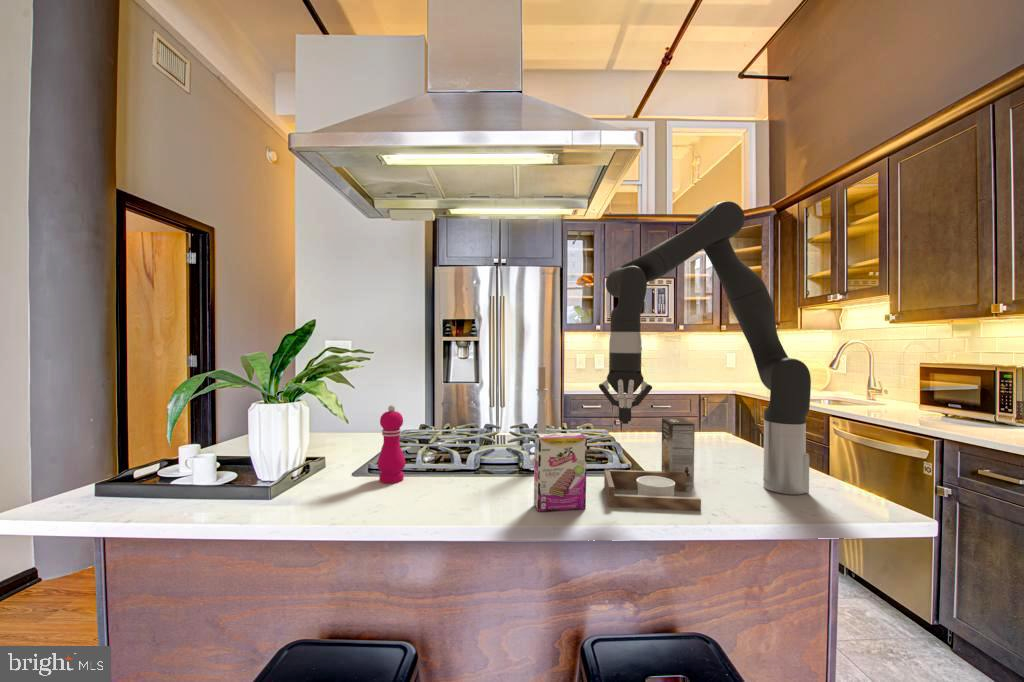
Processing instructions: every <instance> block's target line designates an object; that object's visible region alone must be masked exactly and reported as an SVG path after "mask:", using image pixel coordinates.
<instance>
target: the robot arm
mask: <svg viewBox="0 0 1024 682" xmlns="http://www.w3.org/2000/svg"><path fill="white" fill-rule="evenodd" d="M745 220H746V217H745V211H744V210H743V208H742V207H741V206H740V205H739V204H737V203H736V202H733V201H731V200H730V201H729V200H725V201H720V202H718V203H715V204H713V205H712V206H711V207H709V208H707V209H706V210H704V211H703V212H701V213H700V214H699V215H698V216H696V218H695V220H694V224H692V225H691V226H690V227H688V228H686V229H685V230H683V231H681V232H679V233H677V234H675V235H674V236H672V237H669V238H668V239H666V240H665V241H663V242H661V243H659V244H657V245H656V246H654V247H653V248H651V249H650V250H648V251H646V252H645V253H644V254H641V256H638V258H635V259H633V260H632V261H629V262H627V263H625V264H623V265H621V266H619V267H617V268H615V269H614V270H612V271H611V272H610V273H609V274H608V276H607V278H606V280H605V289H606V291H607V292H608V293H609V295H611V296H612V297H614V298H617V299H618V302H617V305H616V307H614V308H613V309H612V310H611V312H610V329H609V330H610V331H609V332H610V335H609V340H608V341H609V343H608V346H609V347H608V349H609V350H608V373H607V376H606V380H604V381H603V382H601V383H599V384H598V387H599V389H600V391H601V392H602V394H603V395H604V396H605V397H606V398H607V399H608V401H609V403H610V404H611V405H612V406H615V407H617V408H618V415H617V417H618V420H619V422H620V423H621V425H623V424H624V425H625V424H626V425H628V424H629V422H632V421H631V420H632V409H633V408H634V407H638V406H640V404H641V403H642V402H643V400H644V399H645V398H646V397H647V396H648V394H649V393H650V392H651V391H652V390H653V385H651V384H649V383H647V382H646V381H645V380H644V376H643V374H642V352H643V346H642V333H641V326H642V325H641V320H642V319H641V314H642V310H643V307H644V302H645V298H646V294H647V290H648V289H647V288H648V287H647V286H648V283H650V282H652V281H656V280H658V279H660V278H663V276H665V275H667V274H668V273H669V272H671V271H673V270H675V268H677V267H679V266H680V265H682V264H683V263H684V262H686V261H687V260H689V259H690V258H691V257H693V256H694V255H695V254H697V253H698V252H700V251H701V250H702V251H704V252H705V255H706V256H707V257H708V260H709V262H710V263H711V265H712V266H713V269H714V271H715V274H716V275H717V277H718V280H719V281H720V284H721V286H722V288H723V291H724V293H725V295H726V297H727V300H728V303H729V305H730V308H731V309H732V312H733V314H734V316H735V318H736V320H737V322H738V324H739V327H740V329H741V330H742V333H743V335H744V337H745V339H746V341H747V343H748V345H749V347H750V350H751V354H752V356H753V360H754V363H755V366H756V369H757V372H758V376H759V379H760V381H761V383H762V384H763V385H764V387H765V388H766V389H768V390H769V391H770V392H769V395H770V396H769V404H768V406H767V407H766V408H765V409H764V412H763V477H762V480H763V487H764V489H766V490H768V491H770V492H773V493H778V494H784V495H794V496H795V495H802V494H809V493H810V454H808V453H807V452H806V451H807V450H806V449H807V448H806V447H807V446H806V445H807V444H806V442H807V441H806V440H807V439H806V437H807V433H806V431H807V429H806V427H807V426H806V425H807V415H808V414H809V412H810V405H811V388H812V377H811V372H810V370H809V367H808V366H807V365H806V364H805V363H804V362H803V361H801V360H799V359H797V358H794V357H793V358H792V357H789V356H788V355H787V353H786V351H785V349H784V346H783V345H782V343H781V340H780V338H779V335H778V330H777V322H776V321H777V318H776V309H775V305H774V302H773V299H772V296H771V294H770V293H769V290H768V288H767V286H766V284H765V282H764V281H763V279H762V278H761V277H760V276H759V275H758V274H757V273H756V272H755V271H754V270H753V269H751V267H750V266H748V265H747V264H745V263H744V262H743V261H742V260H741V259H740V258H739V256H738V255H737V253H736V252H735V250H734V248H733V246H732V244H731V241H730V238H733V237H734V236H735V235H737V234H738V233H739V232H740V231H741V230H742V228H743V227H744V224H745ZM610 386H611V388H612V389H613V391H614V392H616V395H617V396H616V397H617V399H615V398H614V396H613V395H612V394H611V392H610V391H609V390H610ZM639 387H640V392H639V393H638V394H637V395H636V396H635V397H634V393H635V392H636V391H637V390H638V389H639ZM633 397H634V399H633Z"/></svg>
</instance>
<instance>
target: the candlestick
mask: <svg viewBox="0 0 1024 682" xmlns="http://www.w3.org/2000/svg"><path fill="white" fill-rule="evenodd" d="M548 390H549V389H548V388H546V366H538V388H536V391H537V396H538V398H539V399H538V405H537V409H538V410H537V424H536V427H537V428H536V434H548V433H547V432H548V431H547V412H546V411H547V409H546V401H545V398H546V396H547V391H548ZM529 457H530V460H531V464H532V465H533V466H534V461H535V455H534V456H529ZM521 466H522V463H521V462H520V464H519V467H520V468H521Z"/></svg>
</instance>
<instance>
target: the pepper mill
mask: <svg viewBox="0 0 1024 682" xmlns="http://www.w3.org/2000/svg"><path fill="white" fill-rule="evenodd" d="M387 409H388V410H387V411H385V412H384V413H382V414H381V416H380V419H379V424H380V427H381V428H382V430H381V436H383V444H382V449H381V451H380V454H379V455H378V459H377V468H378V471H380V473H379V475H378V477H379V482H380V483H382V484H397V483H400V482H402V481H403V480H404V477H405V476H404V472H403V471H402V470H404V468H405V467H406V458H405V454H404V453H403V450H402V448H401V442H400V441H401V440H400V437H401V435H402V429H401V427H402V426H403V424H404V418H403V415H402V414H401V412H399V411H396V406H394V405H393V404H391V405H388V408H387Z"/></svg>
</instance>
